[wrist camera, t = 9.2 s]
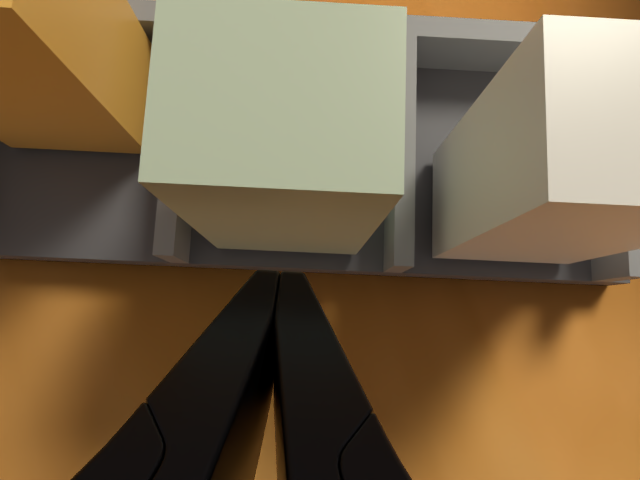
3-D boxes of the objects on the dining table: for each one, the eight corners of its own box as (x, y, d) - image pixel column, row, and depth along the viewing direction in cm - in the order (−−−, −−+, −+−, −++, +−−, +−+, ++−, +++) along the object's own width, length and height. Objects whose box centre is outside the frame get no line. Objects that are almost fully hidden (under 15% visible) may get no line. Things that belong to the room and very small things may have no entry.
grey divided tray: (608, 285, 18) (672, 278, 15) (-45, 256, 18) (-120, 242, 14) (598, 76, 19) (655, 29, 16) (-12, 42, 19) (-75, -13, 16)
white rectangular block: (567, 263, 17) (804, 213, 9) (432, 258, 17) (548, 200, 9) (563, 161, 17) (783, 28, 9) (432, 155, 17) (543, 14, 9)
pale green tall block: (356, 254, 17) (403, 194, 9) (217, 248, 16) (138, 181, 9) (359, 151, 17) (406, 6, 9) (224, 144, 17) (156, -8, 9)
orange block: (148, 154, 17) (11, 7, 9) (10, 147, 17) (-250, -7, 9) (158, 56, 17) (37, -164, 10) (24, 48, 17) (-210, -180, 9)
